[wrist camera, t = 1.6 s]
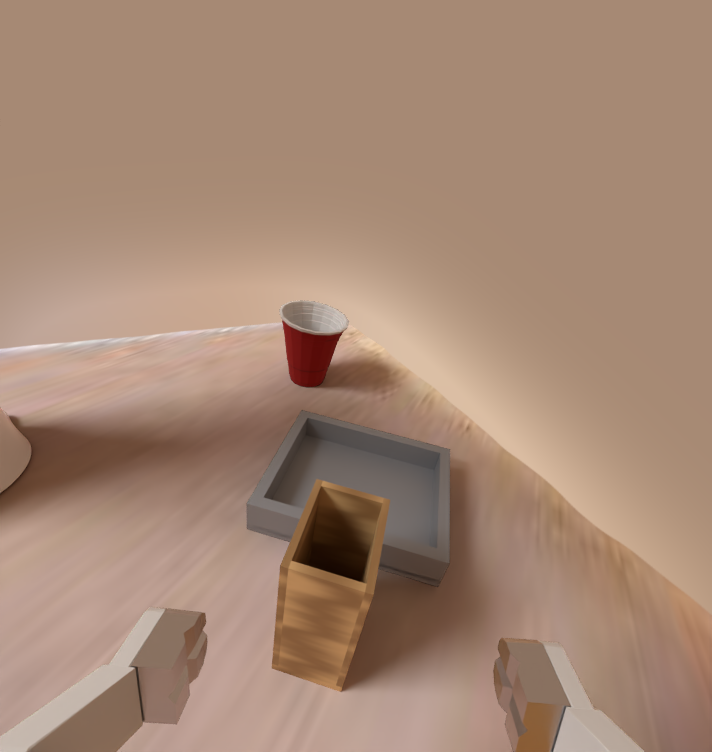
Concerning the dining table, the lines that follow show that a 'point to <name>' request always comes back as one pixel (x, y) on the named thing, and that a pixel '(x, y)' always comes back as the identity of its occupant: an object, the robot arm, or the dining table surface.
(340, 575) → the wooden pencil holder
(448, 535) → the gray tray
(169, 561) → the dining table surface
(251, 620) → the dining table surface
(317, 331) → the plastic cup
